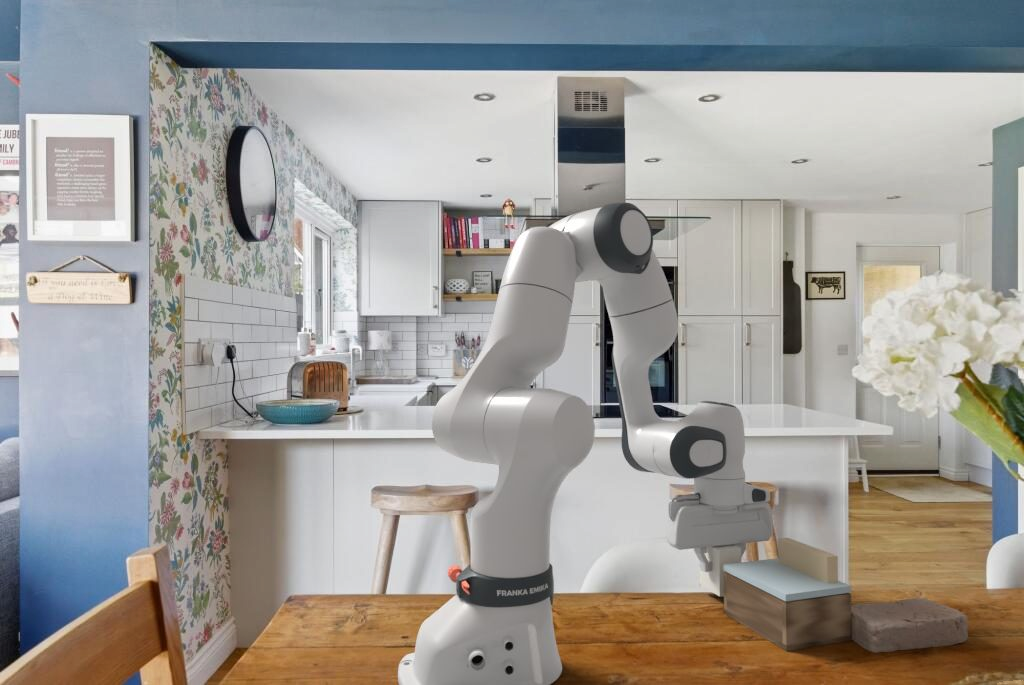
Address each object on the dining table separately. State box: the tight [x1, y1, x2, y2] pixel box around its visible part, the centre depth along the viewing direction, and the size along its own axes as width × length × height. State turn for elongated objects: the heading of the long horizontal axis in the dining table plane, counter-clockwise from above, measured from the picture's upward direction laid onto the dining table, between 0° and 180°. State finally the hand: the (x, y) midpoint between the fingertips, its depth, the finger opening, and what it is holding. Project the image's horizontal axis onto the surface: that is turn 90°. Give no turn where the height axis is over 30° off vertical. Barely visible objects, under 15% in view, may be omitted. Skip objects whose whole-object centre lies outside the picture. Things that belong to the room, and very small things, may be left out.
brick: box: [851, 597, 969, 653], centre depth 102 cm, size 17×8×5 cm, turn 101°
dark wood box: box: [723, 572, 853, 652], centre depth 106 cm, size 12×15×7 cm
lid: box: [723, 537, 852, 601], centre depth 106 cm, size 12×15×5 cm
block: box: [699, 544, 742, 597], centre depth 119 cm, size 4×6×8 cm
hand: (720, 569), depth 119 cm, fingers closed on block, 4 cm apart
